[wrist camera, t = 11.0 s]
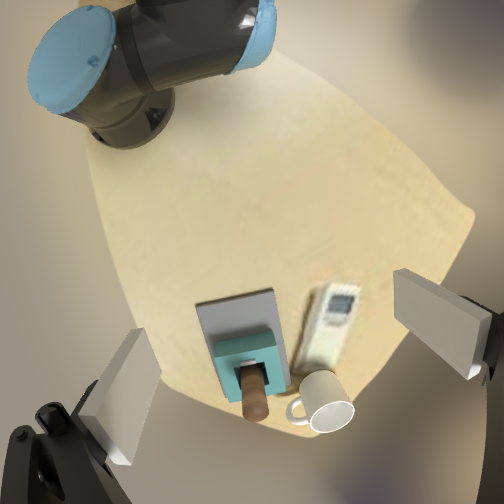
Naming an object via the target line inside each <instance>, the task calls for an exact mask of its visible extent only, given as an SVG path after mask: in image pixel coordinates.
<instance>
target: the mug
mask: <svg viewBox="0 0 504 504" xmlns="http://www.w3.org/2000/svg"><path fill="white" fill-rule="evenodd" d="M299 393H300V396H299V397H297V398H295V399H294V400H292V401H291V402H290V403H289V404H288V406H287V408H286V417H287V419H288V420H289V421H290V422H291V423H293V424H295V425H305V424H308V423H309V424H310V426H311V428H312V429H313V430H314V431H317V432H321V433H327V432H332V431H335V430H338V429H340V428H342V427H343V426H345V425H346V424H347V423H348V422H349V421H350V420H351V419H352V417H353V415H354V407H353V404H352V402H351V401H350V399H349V397H348V395H347V393H346V392H345V390H344V388H343V386H342V384H341V383H340V381H339V379H338V377H337V376H336V375H335V374H334V373H333V372H331V371H328V370H319V371H315V372H313V373H311V374H309V375H308V376H306V377H305V378H304V379H303V380H302V382H301V384H300V387H299ZM300 403H303V406H304V409H305V412H306V415H307V416H305V417H301V418H296V417H294V415H293V409H294V407H295V406H296V405H298V404H300Z"/></svg>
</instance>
